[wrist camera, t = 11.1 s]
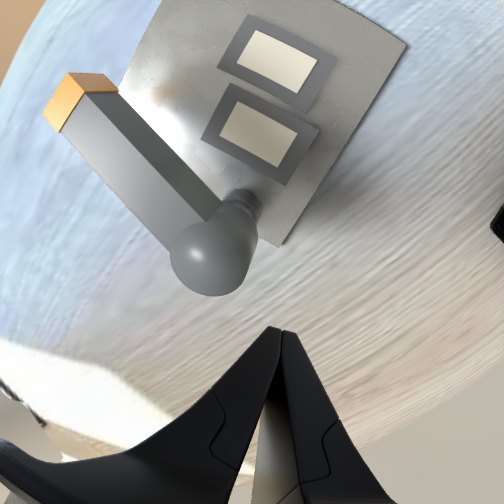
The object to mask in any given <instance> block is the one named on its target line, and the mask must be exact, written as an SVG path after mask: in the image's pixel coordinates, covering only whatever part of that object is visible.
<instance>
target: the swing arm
mask: <svg viewBox="0 0 504 504" xmlns="http://www.w3.org/2000/svg"><path fill="white" fill-rule="evenodd" d="M119 91H120V90H119V89H118V88H117V87H116V86H115V85H114V84H113V83H112V82H111V81H110V80H109V79H108V78H107V77H106V76H105V75H104V74H93V73H67V74H66V75H65V77H64V78H63V80H62V82H61V83H60V85H59V86H58V88H57V90H56V91H55V93H54V94H53V96H52V98H51V99H50V101H49V103H48V105H47V106H46V108H45V110H44V112H43V113H42V114H43V115H44V117H45V118H46V119H47V120H48V122H49V123H50V124H51V125H52V127H53V128H54V129H55V130H56V131H57V133H60V132H61V133H62V134H63V135H64V136H65V138H66V139H67V140H68V141H69V142H70V144H71V145H72V146H73V147H74V148H75V149H76V151H77V152H78V153H79V154H80V155H81V156H82V158H83V159H84V160H85V161H86V162H87V163H88V164H89V166H90V167H91V168H92V169H93V170H94V171H95V172H96V173H97V175H98V176H99V177H100V178H101V179H102V180H103V181H104V182H105V184H106V185H107V186H108V187H109V188H110V189H111V190H112V191H113V192H114V193H115V195H116V196H117V197H118V198H119V199H120V200H121V201H122V202H123V203H124V204H125V205H126V207H127V208H128V209H129V210H130V211H131V212H132V213H133V214H134V215H135V216H136V217H137V218H138V219H139V220H140V222H141V223H142V224H143V225H144V226H145V227H146V228H147V229H148V230H149V231H150V232H151V233H152V234H153V235H154V236H155V237H156V238H157V239H158V240H159V241H160V243H161V244H162V245H163V246H164V247H165V248H166V249H167V250H168V251H169V252H170V260H171V265H172V268H173V270H174V272H175V274H176V276H177V277H178V278H179V280H180V281H181V282H182V283H183V284H184V285H185V286H186V287H188V288H189V289H191V290H192V291H194V292H196V293H199V294H202V295H206V296H223V295H226V294H229V293H231V292H233V291H234V290H236V289H237V288H238V287H239V286H240V285H241V284H242V282H243V281H244V279H245V276H246V274H247V271H248V268H249V265H250V263H251V260H252V257H253V254H254V252H255V249H256V246H257V242H258V232H257V228H256V225H255V223H254V221H253V219H252V218H251V216H250V215H249V214H248V213H247V212H246V211H245V210H243V209H242V208H240V207H238V206H236V205H234V204H230V203H224V202H222V201H221V200H220V199H219V198H218V197H217V196H216V195H215V194H214V193H213V192H212V190H211V189H210V188H209V187H208V186H207V185H206V184H205V183H204V182H203V181H202V180H201V179H200V178H199V177H198V176H197V175H196V174H195V172H194V171H193V170H192V169H191V168H190V167H189V166H188V165H187V164H186V163H185V162H184V161H183V160H182V159H181V158H180V157H179V156H178V155H177V153H176V152H175V151H174V150H173V149H172V148H171V147H170V146H169V145H168V144H167V143H166V142H165V141H164V140H163V139H162V138H161V137H160V136H159V135H158V134H157V132H156V131H155V130H154V129H153V128H152V127H151V126H150V125H149V124H148V123H147V122H146V121H145V120H144V119H143V118H142V117H141V116H140V115H139V114H138V113H137V112H136V111H135V110H134V108H133V107H132V106H131V105H130V104H129V103H128V102H127V101H126V100H125V99H124V98H123V97H122V96H121V95H120V94H119V93H118V92H119Z"/></svg>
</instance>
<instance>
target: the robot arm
mask: <svg viewBox="0 0 504 504" xmlns="http://www.w3.org/2000/svg"><path fill="white" fill-rule="evenodd" d="M497 224H498V226H497V228H496V229H495V227H496V225H497ZM490 229H491V231H492V232H493V233H494V234H495V235H496V236H497V237H498V238H499V239H500V240H501V241H502V242H503V243H504V204H503V206H502V207H501V209H500V210H499V212H498V213H497V215H496V216H495V218H494V219H493V221H492V222H491V224H490ZM260 415H261V418H260ZM259 418H260V428H259V437H258V446H257V456H256V465H255V473H254V482H253V491H252V500H251V504H397V503H396V502H395V501H393V500H392V499H391V498H390V497H389V496H388V495H387V493H386V492H385V491H384V489H383V488H382V487H381V485H380V484H379V482H378V481H377V479H376V478H375V476H374V475H373V473H372V472H371V470H370V469H369V467H368V466H367V464H366V463H365V462H364V460H363V459H362V457H361V455H360V454H359V452H358V451H357V449H356V447H355V446H354V444H353V443H352V441H351V439H350V437H349V435H348V433H347V432H346V430H345V428H344V426H343V424H342V422H341V420H340V419H339V416H338V414H337V412H336V410H335V408H334V406H333V404H332V403H331V401H330V399H329V397H328V395H327V393H326V391H325V389H324V387H323V385H322V383H321V381H320V379H319V377H318V375H317V373H316V371H315V369H314V367H313V365H312V363H311V361H310V359H309V357H308V355H307V353H306V351H305V349H304V347H303V345H302V344H301V342H300V340H299V338H298V336H297V334H296V333H294V332H290V331H287V330H283V331H282V330H281V329H279V328H275V327H272V326H268V327H267V328H266V329H265V330H264V331H263V332H262V333H261V335H260V336H259V337H258V338H257V339H256V340H255V341H254V342H253V343H252V344H251V345H250V347H249V348H248V349H247V350H246V351H245V352H244V353H243V354H242V355H241V356H240V357H239V358H238V360H237V361H236V362H235V363H234V364H233V365H232V366H231V367H230V368H229V369H228V370H227V371H226V372H225V373H224V374H223V375H222V376H221V378H220V379H219V380H218V381H217V382H216V383H215V384H214V385H213V386H212V387H211V388H210V389H209V390H208V391H207V392H206V393H205V394H204V395H203V396H202V397H201V398H200V399H199V400H198V401H197V402H196V403H194V404H193V405H192V406H191V407H190V408H189V409H188V410H186V411H185V412H184V413H183V414H181V415H180V416H179V417H177V418H176V419H175V420H173V421H172V422H170V423H169V424H168V425H166V426H165V427H163V428H162V429H160V430H159V431H158V432H156V433H155V434H153V435H152V436H150V437H149V438H147V439H146V440H144V441H143V442H141V443H140V444H138V445H136V446H134V447H133V448H131V449H129V450H126V451H124V452H121V453H117V454H112V455H107V456H102V457H96V458H91V459H85V460H79V461H72V462H65V463H50V462H44V461H41V460H38V459H36V458H34V457H32V456H30V455H28V454H27V453H26V452H24V451H23V450H21V449H20V448H19V447H17V446H15V445H14V444H13V443H11V442H9V441H7V440H5V439H2V438H0V482H1V483H2V484H3V485H5V487H7V488H8V489H9V490H10V491H11V492H10V493H9V495H8V497H7V499H6V500H5V502H4V504H228V501H229V498H230V495H231V492H232V489H233V486H234V483H235V481H236V478H237V476H238V473H239V471H240V468H241V465H242V463H243V460H244V458H245V455H246V453H247V450H248V447H249V445H250V442H251V439H252V437H253V434H254V431H255V429H256V426H257V423H258V420H259Z"/></svg>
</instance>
